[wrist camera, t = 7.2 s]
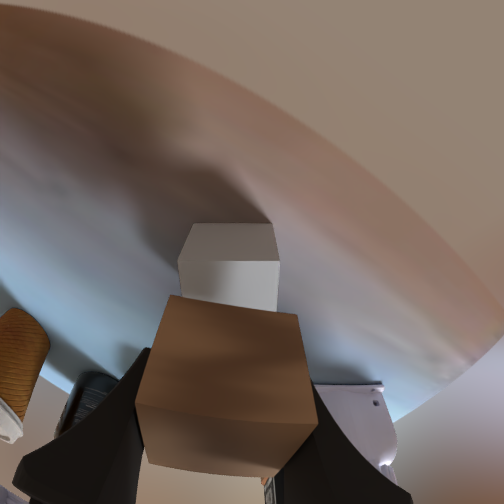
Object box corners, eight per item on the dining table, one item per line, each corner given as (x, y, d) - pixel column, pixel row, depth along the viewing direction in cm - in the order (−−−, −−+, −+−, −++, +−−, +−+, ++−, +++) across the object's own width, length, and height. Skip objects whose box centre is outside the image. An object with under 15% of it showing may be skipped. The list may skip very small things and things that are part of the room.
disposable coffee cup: (36, 293, 21) (-34, 387, 10) (76, 366, 26) (36, 457, 15) (-15, 294, 22) (-73, 365, 11) (23, 358, 26) (-18, 430, 15)
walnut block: (297, 314, 11) (318, 423, 7) (267, 388, 14) (273, 477, 9) (170, 294, 11) (134, 402, 7) (168, 374, 13) (148, 463, 9)
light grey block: (272, 222, 19) (280, 261, 14) (269, 288, 21) (274, 337, 17) (193, 223, 19) (177, 260, 14) (199, 288, 21) (187, 335, 16)
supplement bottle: (69, 376, 27) (32, 460, 16) (99, 362, 25) (59, 463, 14) (111, 410, 29) (87, 491, 18) (146, 400, 28) (123, 496, 17)
